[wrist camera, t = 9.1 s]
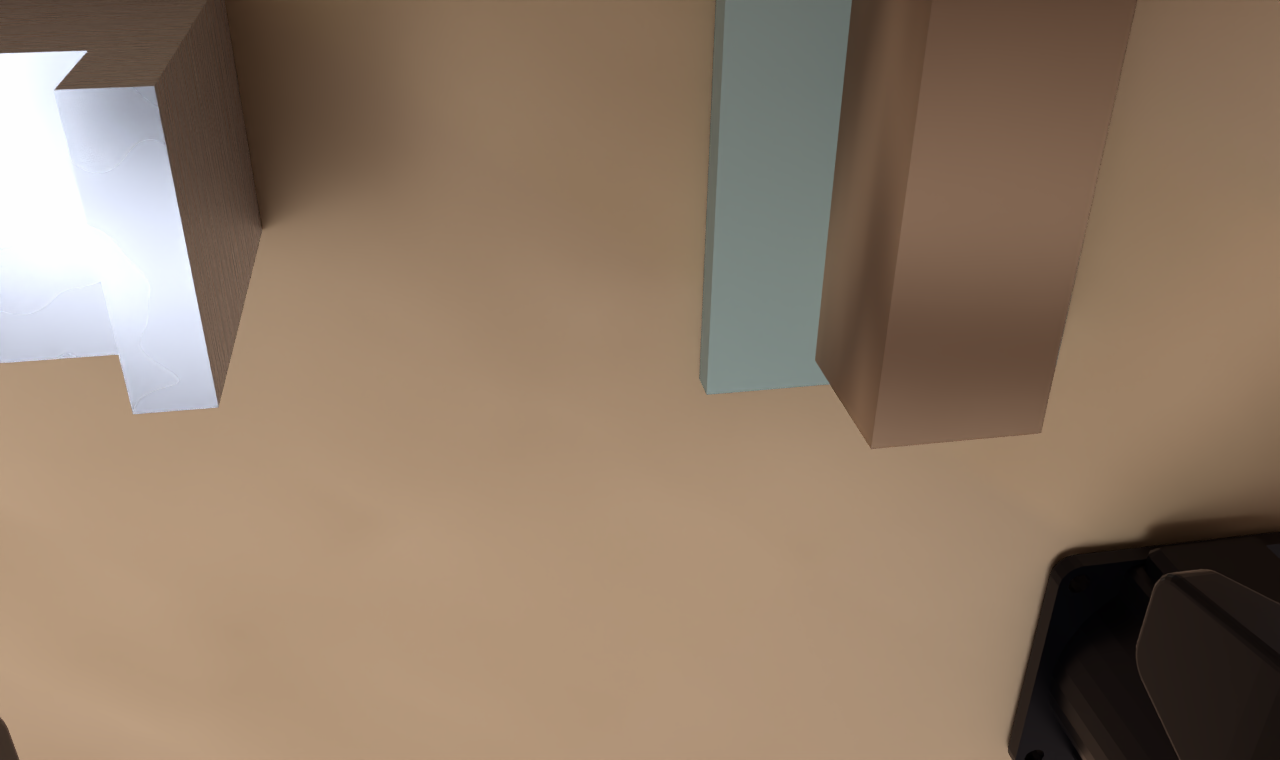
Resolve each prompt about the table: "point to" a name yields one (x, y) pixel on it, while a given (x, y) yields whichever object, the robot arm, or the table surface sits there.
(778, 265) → the mat
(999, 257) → the rail
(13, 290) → the grey block
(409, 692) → the table surface
